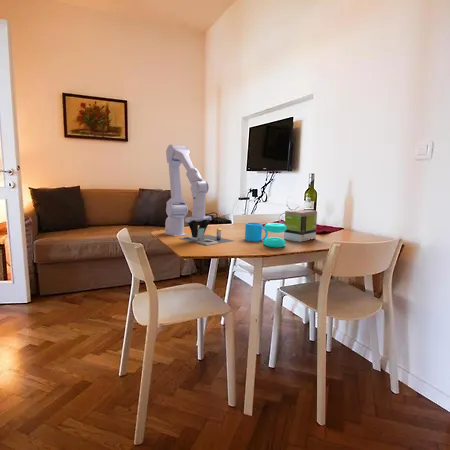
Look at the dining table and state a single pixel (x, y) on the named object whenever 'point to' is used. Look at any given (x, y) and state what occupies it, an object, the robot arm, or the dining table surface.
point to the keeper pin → (218, 234)
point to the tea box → (300, 225)
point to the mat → (209, 239)
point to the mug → (254, 232)
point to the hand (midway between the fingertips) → (198, 236)
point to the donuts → (275, 240)
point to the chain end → (201, 238)
